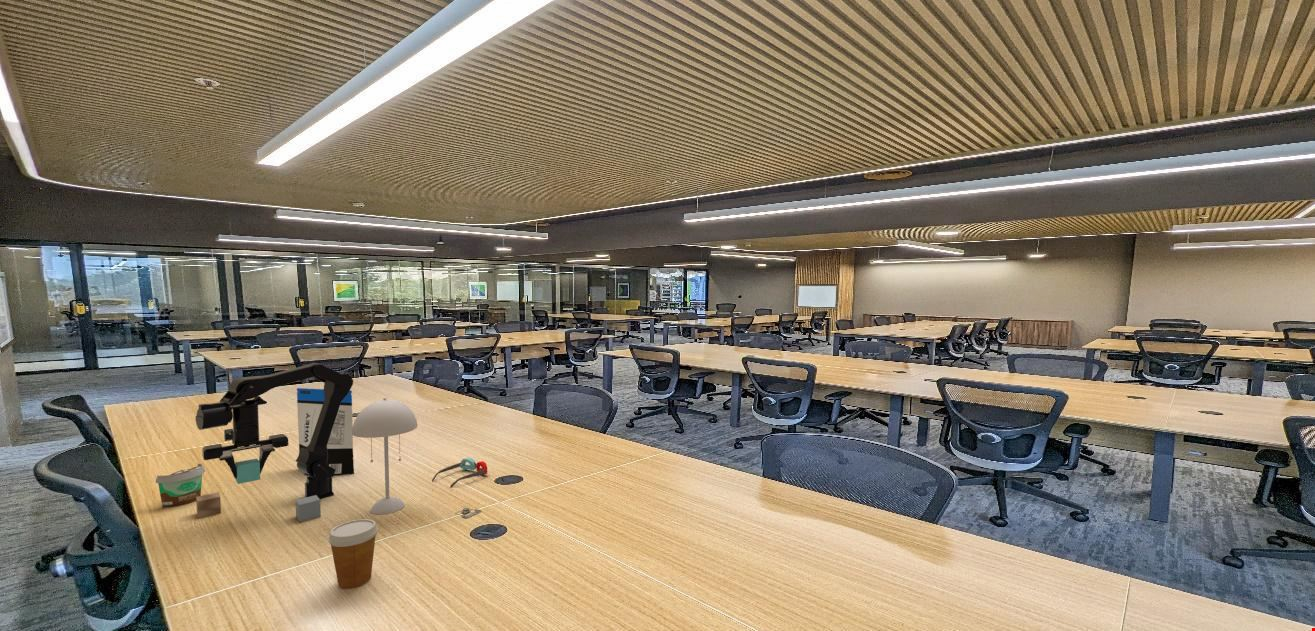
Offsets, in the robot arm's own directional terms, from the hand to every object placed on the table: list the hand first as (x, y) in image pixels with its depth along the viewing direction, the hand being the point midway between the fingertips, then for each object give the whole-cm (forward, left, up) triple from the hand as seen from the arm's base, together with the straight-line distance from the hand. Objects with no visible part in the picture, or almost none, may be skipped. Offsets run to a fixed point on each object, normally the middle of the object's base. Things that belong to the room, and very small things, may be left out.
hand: (247, 475), depth 145 cm
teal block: (0, 0, -1) cm, 1 cm away
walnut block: (+8, -12, -12) cm, 19 cm away
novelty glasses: (-56, +13, -13) cm, 59 cm away
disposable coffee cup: (-12, +59, -12) cm, 61 cm away
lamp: (-30, +22, -12) cm, 39 cm away
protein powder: (-25, -29, -12) cm, 40 cm away
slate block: (-12, +12, -12) cm, 21 cm away
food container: (+12, -28, -12) cm, 33 cm away
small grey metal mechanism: (-48, +45, -13) cm, 67 cm away
